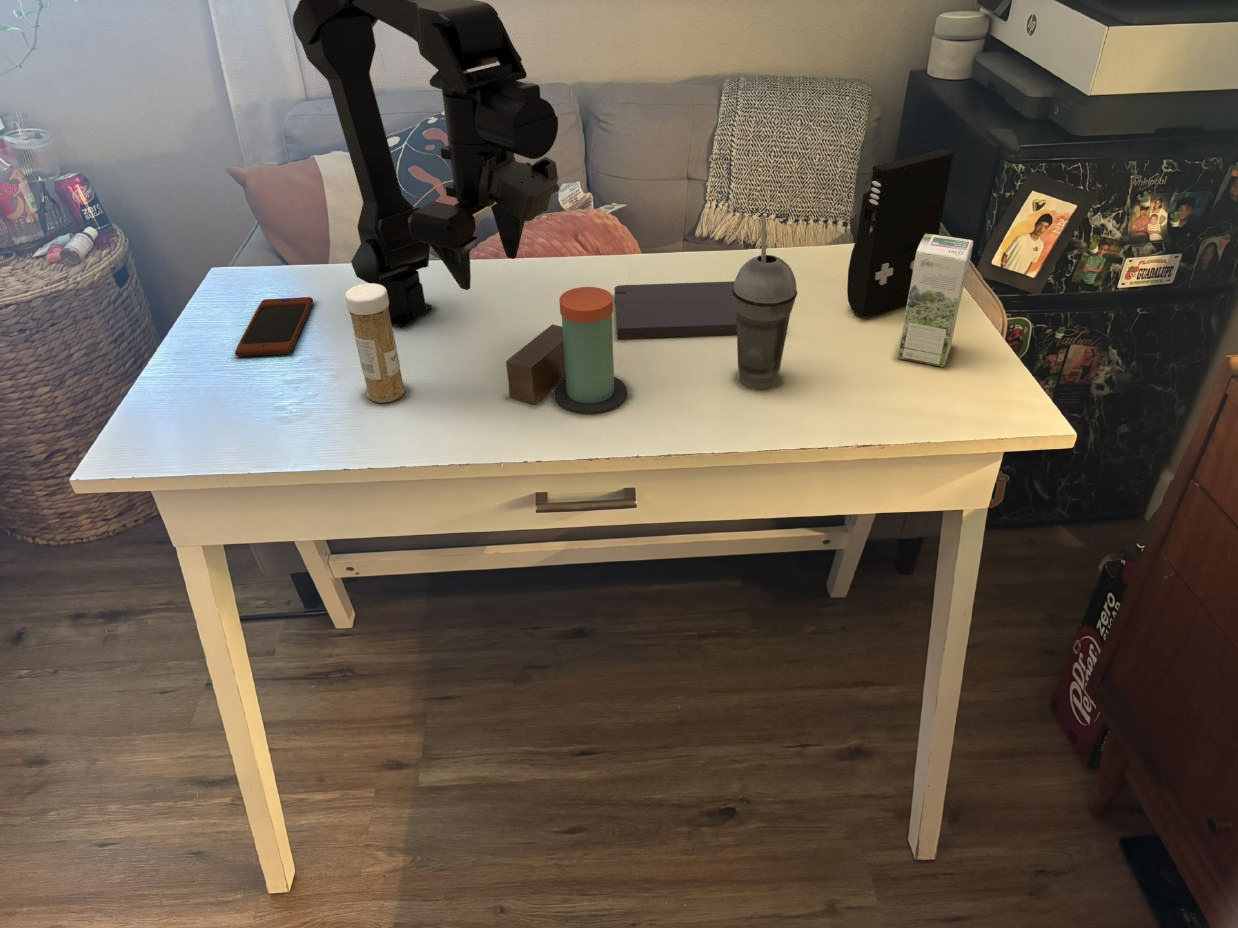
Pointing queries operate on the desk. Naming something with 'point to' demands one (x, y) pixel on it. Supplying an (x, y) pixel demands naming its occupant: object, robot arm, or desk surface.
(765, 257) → the beverage cup
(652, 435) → the desk surface
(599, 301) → the container
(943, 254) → the syrup box
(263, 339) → the smartphone
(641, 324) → the notebook
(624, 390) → the coaster
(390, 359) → the sprinkles bottle
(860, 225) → the handheld gaming console
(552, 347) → the block
